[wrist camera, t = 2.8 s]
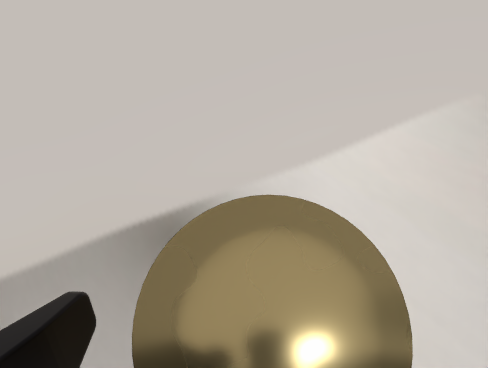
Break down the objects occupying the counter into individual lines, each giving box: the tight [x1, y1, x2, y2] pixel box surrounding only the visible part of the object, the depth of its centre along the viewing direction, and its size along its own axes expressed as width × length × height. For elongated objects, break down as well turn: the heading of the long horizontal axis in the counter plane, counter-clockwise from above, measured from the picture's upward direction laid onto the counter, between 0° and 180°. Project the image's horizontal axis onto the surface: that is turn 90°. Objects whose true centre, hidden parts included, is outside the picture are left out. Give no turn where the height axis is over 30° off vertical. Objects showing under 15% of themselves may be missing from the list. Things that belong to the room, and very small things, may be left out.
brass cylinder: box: [132, 195, 413, 368], centre depth 11 cm, size 4×4×10 cm
